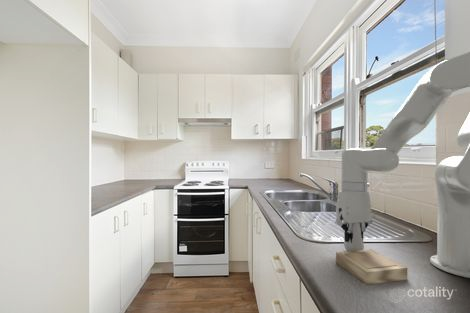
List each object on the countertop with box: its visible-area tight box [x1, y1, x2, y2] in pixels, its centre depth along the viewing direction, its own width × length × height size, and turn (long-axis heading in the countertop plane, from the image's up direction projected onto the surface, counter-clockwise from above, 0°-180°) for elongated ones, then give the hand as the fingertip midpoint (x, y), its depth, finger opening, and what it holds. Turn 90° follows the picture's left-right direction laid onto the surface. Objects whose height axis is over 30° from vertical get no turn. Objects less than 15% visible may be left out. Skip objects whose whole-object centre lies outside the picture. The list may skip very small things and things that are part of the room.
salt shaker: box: [343, 223, 365, 252], centre depth 76 cm, size 6×6×13 cm
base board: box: [335, 248, 408, 286], centre depth 64 cm, size 12×12×3 cm
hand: (353, 243), depth 76 cm, fingers closed on salt shaker, 3 cm apart
